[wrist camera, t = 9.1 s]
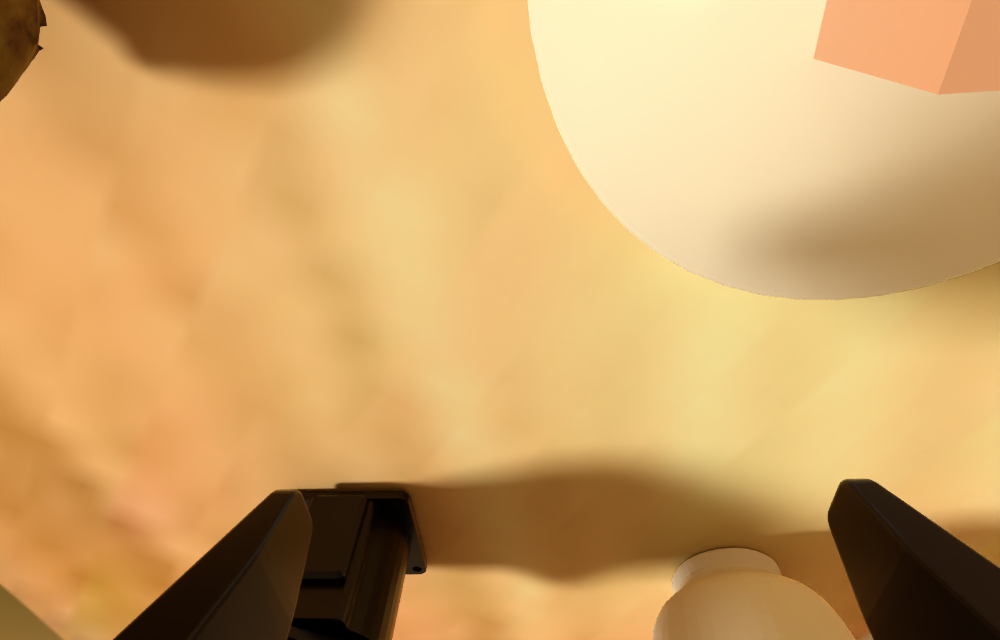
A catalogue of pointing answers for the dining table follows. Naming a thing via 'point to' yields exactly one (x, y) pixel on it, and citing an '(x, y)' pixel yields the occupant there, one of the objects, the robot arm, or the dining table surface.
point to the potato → (18, 39)
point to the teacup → (743, 602)
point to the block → (916, 42)
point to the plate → (768, 147)
